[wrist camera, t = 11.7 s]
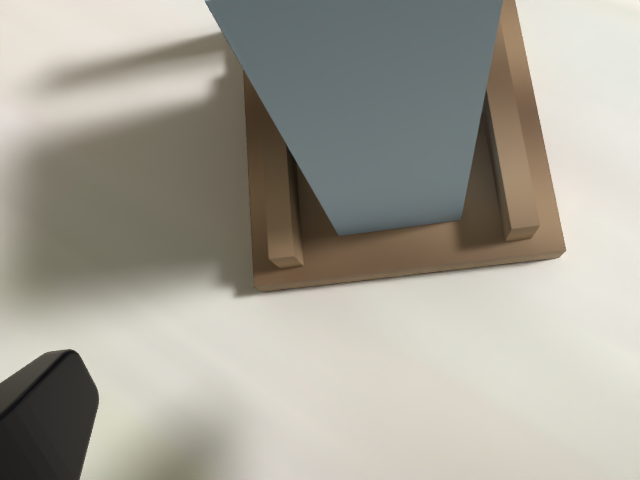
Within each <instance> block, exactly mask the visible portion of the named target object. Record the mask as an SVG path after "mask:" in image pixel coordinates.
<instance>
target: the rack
mask: <svg viewBox="0 0 640 480" xmlns="http://www.w3.org/2000/svg"><path fill="white" fill-rule="evenodd" d="M243 74H244V94H245V114H246V135H247V155H248V175H249V195H250V215H251V235H252V256H253V276H254V287H255V288H257V289H258V290H260V291H262V292H265V291H274V290H283V289H291V288H300V287H309V286H317V285H326V284H335V283H343V282H352V281H361V280H369V279H378V278H387V277H395V276H404V275H413V274H421V273H430V272H439V271H447V270H456V269H465V268H473V267H482V266H491V265H499V264H508V263H517V262H525V261H534V260H543V259H551V258H559V257H560V256H561V255H562V254H563V253H564V252H565V251H566V247H565V242H564V237H563V233H562V228H561V223H560V218H559V213H558V208H557V203H556V198H555V194H554V189H553V184H552V179H551V174H550V169H549V164H548V159H547V155H546V150H545V145H544V140H543V135H542V130H541V125H540V120H539V116H538V111H537V106H536V101H535V96H534V91H533V86H532V81H531V77H530V72H529V67H528V62H527V57H526V52H525V47H524V42H523V38H522V33H521V28H520V23H519V18H518V13H517V8H516V3H515V0H503V4H502V9H501V14H500V19H499V24H498V30H497V35H496V40H495V45H494V50H493V56H492V61H491V66H490V71H489V76H488V82H487V87H486V92H485V97H484V102H483V108H482V113H481V118H480V123H479V128H478V134H477V139H476V144H475V149H474V154H473V160H472V165H471V170H470V175H469V180H468V186H467V191H466V196H465V201H464V207H463V212H462V217H461V220H458V221H450V222H443V223H435V224H428V225H420V226H412V227H405V228H397V229H390V230H382V231H374V232H367V233H359V234H351V235H344V236H339V235H338V234H337V232H336V230H335V228H334V227H333V225H332V223H331V221H330V220H329V218H328V216H327V214H326V213H325V211H324V209H323V207H322V206H321V204H320V202H319V200H318V199H317V197H316V195H315V193H314V192H313V190H312V188H311V186H310V185H309V183H308V181H307V179H306V178H305V176H304V174H303V172H302V171H301V169H300V167H299V165H298V164H297V162H296V160H295V158H294V157H293V155H292V153H291V151H290V150H289V148H288V146H287V144H286V143H285V141H284V139H283V137H282V136H281V134H280V132H279V130H278V129H277V127H276V125H275V123H274V122H273V120H272V118H271V116H270V115H269V113H268V111H267V109H266V108H265V106H264V104H263V102H262V101H261V99H260V97H259V95H258V94H257V92H256V90H255V88H254V87H253V85H252V83H251V81H250V80H249V78H248V76H247V74H246V73H245V71H244V69H243Z"/></svg>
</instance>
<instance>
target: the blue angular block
mask: <svg viewBox="0 0 640 480" xmlns="http://www.w3.org/2000/svg"><path fill="white" fill-rule="evenodd" d="M205 3H206V5H207V6H208V8H209V10H210V12H211V13H212V15H213V17H214V19H215V20H216V22H217V24H218V26H219V27H220V29H221V31H222V33H223V34H224V36H225V38H226V39H227V41H228V43H229V45H230V46H231V48H232V50H233V52H234V53H235V55H236V57H237V59H238V60H239V62H240V64H241V66H242V67H243V69H244V71H245V73H246V74H247V76H248V78H249V80H250V81H251V83H252V85H253V87H254V88H255V90H256V92H257V94H258V95H259V97H260V99H261V101H262V102H263V104H264V106H265V108H266V109H267V111H268V113H269V115H270V116H271V118H272V120H273V122H274V123H275V125H276V127H277V129H278V130H279V132H280V134H281V136H282V137H283V139H284V141H285V143H286V144H287V146H288V148H289V150H290V151H291V153H292V155H293V157H294V158H295V160H296V162H297V164H298V165H299V167H300V169H301V171H302V172H303V174H304V176H305V178H306V179H307V181H308V183H309V185H310V186H311V188H312V190H313V192H314V193H315V195H316V197H317V199H318V200H319V202H320V204H321V206H322V207H323V209H324V211H325V213H326V214H327V216H328V218H329V220H330V221H331V223H332V225H333V227H334V228H335V230H336V232H337V234H338V235H339V236H344V235H351V234H359V233H367V232H374V231H382V230H390V229H397V228H405V227H412V226H420V225H428V224H435V223H443V222H450V221H458V220H461V217H462V212H463V207H464V201H465V196H466V191H467V186H468V180H469V175H470V170H471V165H472V160H473V154H474V149H475V144H476V139H477V134H478V128H479V123H480V118H481V113H482V108H483V102H484V97H485V92H486V87H487V82H488V76H489V71H490V66H491V61H492V56H493V50H494V45H495V40H496V35H497V30H498V24H499V19H500V14H501V9H502V4H503V0H205Z"/></svg>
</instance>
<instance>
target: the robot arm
mask: <svg viewBox="0 0 640 480" xmlns="http://www.w3.org/2000/svg"><path fill="white" fill-rule="evenodd" d="M98 404H99V394H98V390H97V387H96V385H95V383H94V381H93V379H92V378H91V376H90V374H89V372H88V370H87V368H86V366H85V364H84V362H83V360H82V359H81V357H80V355H79V354H78V353H77V352H76V351H74V350H71V349H67V350H59V351H51V352H47V353H44V354H43V355H41V356H40V357H38V358H37V359H35V360H34V361H32V362H31V363H29V364H28V365H26V366H25V367H23V368H22V369H20V370H19V371H18V372H16V373H15V374H13V375H12V376H10V377H9V378H7V379H6V380H4V381H3V382H1V383H0V480H80V476H81V472H82V468H83V464H84V460H85V456H86V452H87V448H88V444H89V440H90V437H91V433H92V429H93V425H94V421H95V417H96V413H97V409H98Z"/></svg>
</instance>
